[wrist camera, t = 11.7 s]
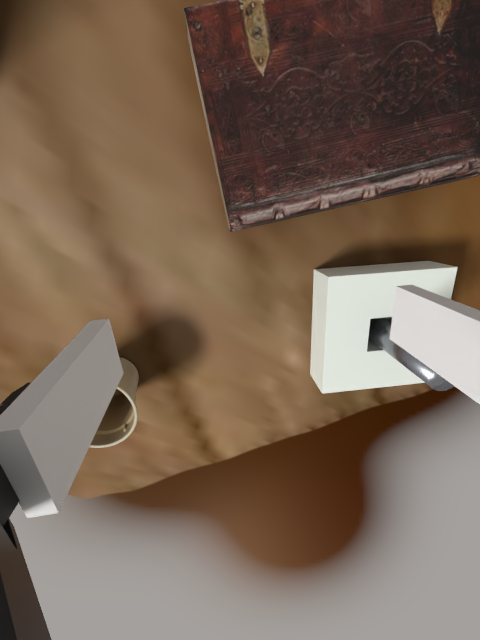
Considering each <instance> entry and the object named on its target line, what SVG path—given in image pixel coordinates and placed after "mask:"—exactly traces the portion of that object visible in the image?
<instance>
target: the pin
mask: <svg viewBox="0 0 480 640" xmlns="http://www.w3.org/2000/svg"><path fill="white" fill-rule="evenodd" d="M391 323H392V322H391V321H389V320H388V319H386V318H373V319H370V328H369V337H368V338H369V339H370V340H371V341H373V342H374V343H375V344H377V345H378V346H379V347H380V348H382V349H383V350H384V351H386V352H387V353H388V354H389V355H391V356H392V357H393V358H394V359H396V360H397V361H398V362H400V363H401V364H402V365H403V366H405V367H406V368H407V369H409V370H410V371H411V372H412V373H414V374H415V375H416V376H417V377H419V378H420V379H421V380H423V381H424V382H425V383H426V384H428V385H429V386H430V387H432V388H433V389H434V390H437V391H444V390H448V389H450V388H452V387H453V386H454V385H452V384H451V383H450V382H448V381H447V380H445V379H444V378H443V377H441V376H440V375H439V374H437V373H436V372H434V371H433V370H432V369H430V368H429V367H427V366H426V365H425V364H423V363H422V362H421V361H419V360H418V359H416V358H415V357H414V356H412V355H411V354H409V353H408V352H407V351H405V350H404V349H403V348H401V347H400V346H398V345H397V344H396V343H394V342H393V341H391V340H390V339H389V338H390V330H391Z"/></svg>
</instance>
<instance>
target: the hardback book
mask: <svg viewBox="0 0 480 640" xmlns="http://www.w3.org/2000/svg"><path fill="white" fill-rule="evenodd" d="M184 11H185V19H186V27H187V35H188V41H189V46H190V51H191V55H192V60H193V65H194V69H195V74H196V79H197V83H198V88H199V93H200V97H201V102H202V107H203V112H204V116H205V121H206V126H207V130H208V135H209V140H210V144H211V149H212V154H213V158H214V163H215V168H216V172H217V177H218V182H219V186H220V191H221V196H222V201H223V205H224V210H225V215H226V219H227V224H228V229H229V231H230V232H232V231H237V230H241V229H245V228H250V227H254V226H259V225H263V224H268V223H272V222H276V221H281V220H285V219H290V218H294V217H299V216H303V215H307V214H312V213H316V212H321V211H325V210H330V209H334V208H338V207H343V206H347V205H352V204H356V203H361V202H365V201H369V200H374V199H378V198H383V197H387V196H392V195H396V194H400V193H405V192H409V191H414V190H418V189H423V188H427V187H431V186H436V185H440V184H445V183H449V182H454V181H458V180H462V179H467V178H471V177H476V176H478V175H480V0H221V1H217V2H212V3H207V4H202V5H198V6H193V7H188V8H184Z"/></svg>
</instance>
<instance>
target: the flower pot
mask: <svg viewBox="0 0 480 640" xmlns="http://www.w3.org/2000/svg"><path fill="white" fill-rule="evenodd" d="M119 358H120V357H119ZM120 362H121V365H122V369H123V376H122V378H121V380H120V382H119V384H118V386H117V388H116V391H115V393H114V395H113V397H112V399H111V401H110V403H109V406H108V408H107V410H106V412H105V414H104V416H103V418H102V421H101V423H100V425H99V427H98V429H97V431H96V434H95V436H94V438H93V440H92V442H91V444H90V446H89V447H93V448H102V447H109V446H113V445H116V444H118V443H120V442H122V441H123V440H125V439H126V438H127V437H128V436H129V435H130V434H131V433H132V432H133V430H134V428H135V426H136V423H137V419H138V412H137V407H136V403H135V399H136V392H137V386H138V381H139V375H138V371H137V369H136V367H135V366H134V365H133V364H132V363H131V362H130V361H128V360H126V359H124V358H120Z"/></svg>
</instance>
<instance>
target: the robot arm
mask: <svg viewBox="0 0 480 640" xmlns="http://www.w3.org/2000/svg"><path fill="white" fill-rule="evenodd" d="M389 339H390V340H391V341H393V342H394V343H396V344H397V345H398V346H400V347H401V348H403V349H404V350H405V351H407V352H408V353H409V354H411V355H412V356H414V357H415V358H416V359H418V360H419V361H421V362H422V363H423V364H425V365H426V366H427V367H429V368H430V369H432V370H433V371H434V372H436V373H437V374H439V375H440V376H441V377H443V378H444V379H445V380H447V381H448V382H450V383H451V384H452V385H454V386H455V387H457V388H458V389H460V390H461V391H462V392H463V393H465V394H466V395H468V396H469V397H471V398H472V399H473V400H475V401H476V402H477V403H479V404H480V311H479V310H477V309H474V308H472V307H469V306H466V305H464V304H461V303H459V302H456V301H453V300H451V299H448V298H446V297H443V296H440V295H438V294H435V293H433V292H430V291H427V290H425V289H422V288H420V287H417V286H414V285H403V286H396V293H395V300H394V308H393V315H392V323H391V330H390V338H389ZM122 376H123V369H122V365H121V362H120V358H119V354H118V351H117V347H116V343H115V339H114V336H113V332H112V328H111V325H110V321H109V319H102V320H93V321H90V322H89V323H88V324H87V325H86V326H85V327H84V328H83V329H82V330H81V331H80V332H79V333H78V334H77V336H76V337H75V338H74V339H73V340H72V341H71V342H70V343H69V344H68V345H67V346H66V347H65V348H64V349H63V350H62V351H61V352H60V353H59V354H58V355H57V356H56V357H55V359H54V360H53V361H52V362H51V363H50V364H49V365H48V366H47V367H46V368H45V369H44V370H43V371H42V372H41V373H40V374H39V375H38V376H37V377H36V378H35V379H34V381H33V382H32V383H27V384H25V385H24V386H22V387H21V388H19V389H18V390H16V391H14V392H13V393H11V394H10V395H9V396H8V397H7V398H6V399H5V400H4V401H3V402H2V403H1V404H0V640H51V637H50V634H49V631H48V628H47V625H46V622H45V619H44V616H43V613H42V610H41V607H40V604H39V601H38V598H37V595H36V592H35V589H34V586H33V583H32V580H31V577H30V574H29V571H28V568H27V565H26V562H25V559H24V556H23V553H22V550H21V547H20V544H19V541H18V538H17V535H16V532H15V529H14V527H13V524H12V523H11V521H10V519H9V517H10V515H11V514H12V512H13V510H14V509H15V507H16V506H17V504H18V502H19V504H20V506H21V507H22V509H23V511H24V513H25V515H26V517H27V518H30V517H36V516H42V515H48V514H55V513H59V511H60V509H61V506H62V504H63V502H64V500H65V498H66V496H67V494H68V492H69V489H70V487H71V485H72V483H73V481H74V479H75V476H76V474H77V472H78V470H79V468H80V466H81V464H82V461H83V459H84V457H85V455H86V453H87V451H88V449H89V446H90V444H91V442H92V440H93V438H94V436H95V434H96V431H97V429H98V427H99V425H100V423H101V421H102V418H103V416H104V414H105V412H106V410H107V408H108V406H109V403H110V401H111V399H112V397H113V395H114V393H115V391H116V388H117V386H118V384H119V382H120V380H121V378H122Z"/></svg>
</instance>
